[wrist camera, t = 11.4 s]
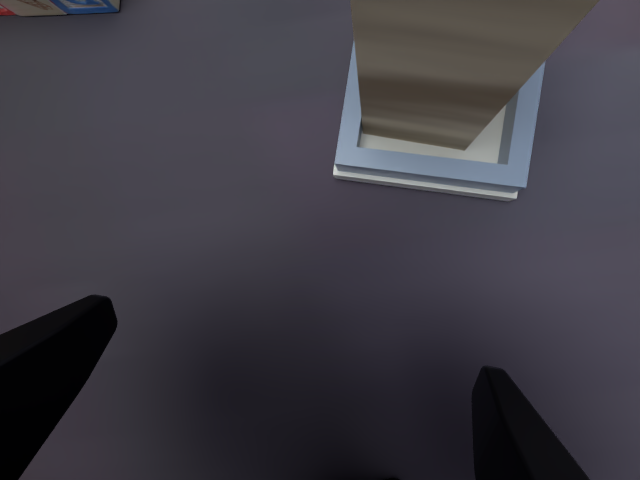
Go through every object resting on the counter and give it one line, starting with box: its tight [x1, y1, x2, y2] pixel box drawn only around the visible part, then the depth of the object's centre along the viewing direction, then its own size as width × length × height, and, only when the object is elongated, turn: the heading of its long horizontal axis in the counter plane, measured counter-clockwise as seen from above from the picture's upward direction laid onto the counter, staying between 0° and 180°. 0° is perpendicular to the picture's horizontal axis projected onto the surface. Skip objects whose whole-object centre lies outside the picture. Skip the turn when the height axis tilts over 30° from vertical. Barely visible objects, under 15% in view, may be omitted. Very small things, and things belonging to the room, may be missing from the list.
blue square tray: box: [333, 43, 545, 202], centre depth 17 cm, size 8×8×2 cm
